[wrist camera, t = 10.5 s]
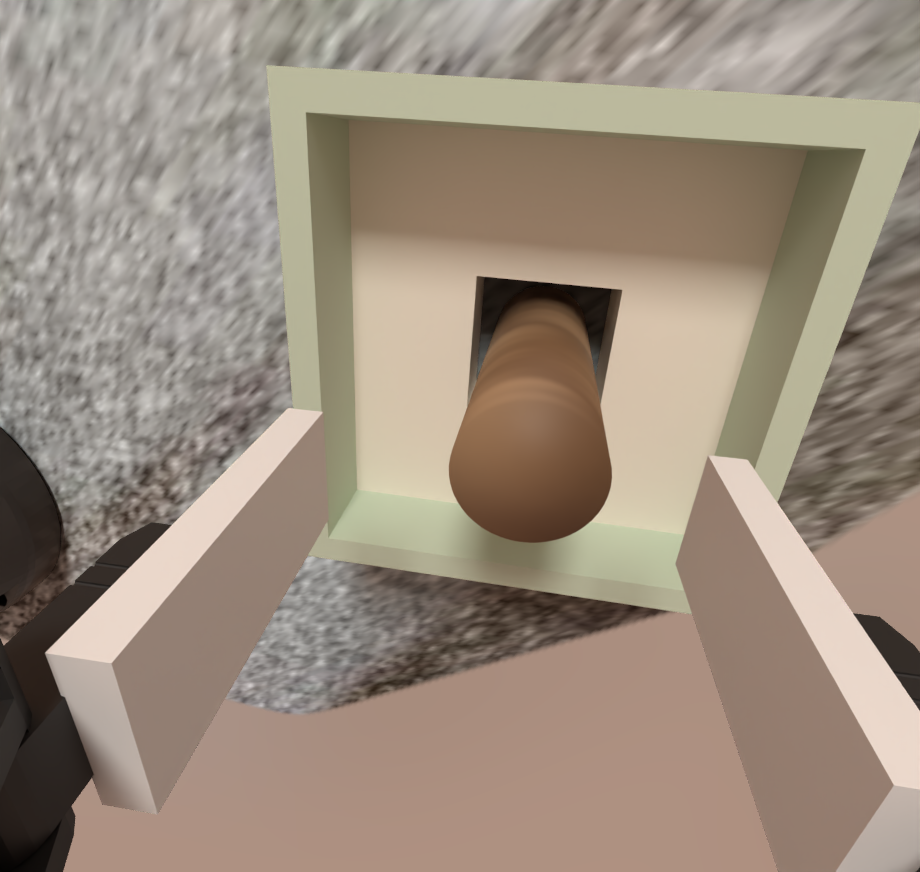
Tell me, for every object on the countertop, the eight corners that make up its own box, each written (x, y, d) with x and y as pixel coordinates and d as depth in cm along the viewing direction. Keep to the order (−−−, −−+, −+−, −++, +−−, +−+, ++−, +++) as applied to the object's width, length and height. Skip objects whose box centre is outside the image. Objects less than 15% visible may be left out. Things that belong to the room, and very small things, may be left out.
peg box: (356, 471, 28) (304, 555, 22) (348, 91, 20) (266, 65, 15) (692, 517, 26) (732, 620, 20) (813, 119, 19) (929, 103, 13)
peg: (493, 366, 24) (445, 530, 14) (501, 281, 23) (453, 392, 12) (578, 376, 24) (596, 552, 13) (592, 290, 22) (626, 413, 12)
